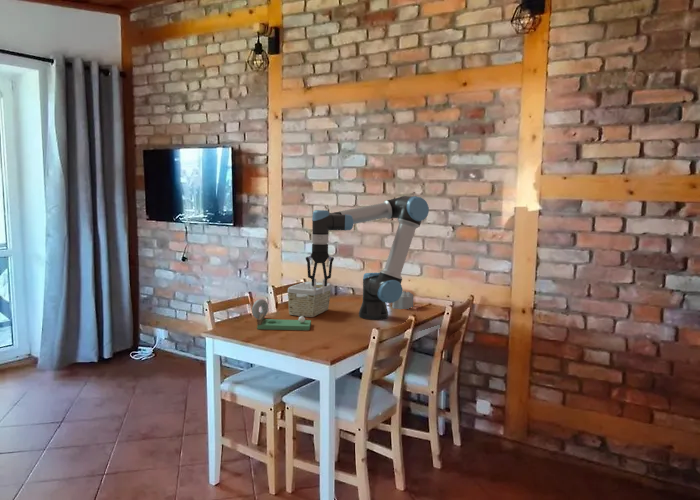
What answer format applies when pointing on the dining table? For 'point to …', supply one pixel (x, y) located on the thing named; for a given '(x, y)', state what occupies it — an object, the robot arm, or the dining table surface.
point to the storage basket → (308, 299)
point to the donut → (256, 308)
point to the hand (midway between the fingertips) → (319, 292)
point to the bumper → (260, 319)
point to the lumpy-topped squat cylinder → (404, 301)
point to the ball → (301, 319)
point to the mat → (284, 324)
